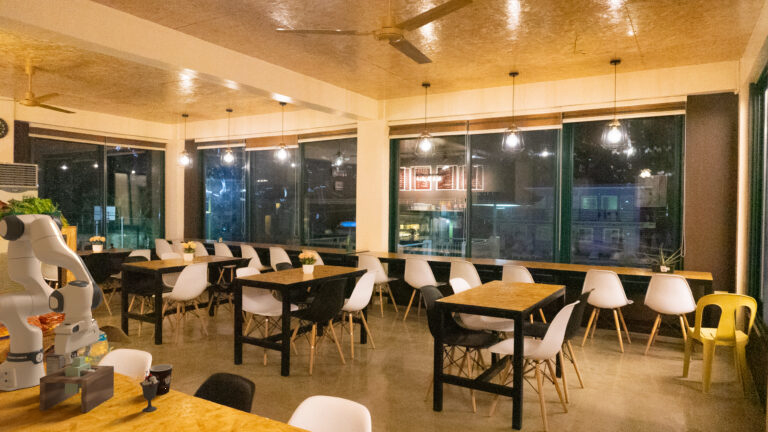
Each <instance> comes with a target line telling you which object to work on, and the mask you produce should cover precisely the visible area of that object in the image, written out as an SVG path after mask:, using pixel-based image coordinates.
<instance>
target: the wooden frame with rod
mask: <svg viewBox="0 0 768 432" xmlns="http://www.w3.org/2000/svg"><path fill="white" fill-rule="evenodd" d="M69 366H71V365H68V366H66V367H69ZM66 367H64V368H62V369H59V370H57V371H55V372H53V373H50V374H48V375H46V374H45V375H46V376H44V377H41V378H40V384H39V411H40V412H45V411H47V410H49V409H51V408H53V407H54V406H57V405H59V404H61V403H62V402H64V401H66V400H68V399H70V398H72V397H73V396H76V394H72V393H65V383H71V384H81V388H80V390H81V391H80V392H81V394H80V395H81V396H80V399H81V400H80V407H81V409H80V412H81V413H83V414H84V413H86V414H87V413H88V412H90V411H92V410H93V409H95V408H97V407H98V406H100V405H101V404H104V403H105V402H107V401H108V400H110V399H112V398H113V397H114V396H115V395H114V394H115V384H114V383H115V382H114V381H115V366H114V365H96V364H95V365H93V364H91V370H88V369H85V370H82V371H80V375H84V376H82V377H73V376H65V375H66ZM81 413H80V414H81Z"/></svg>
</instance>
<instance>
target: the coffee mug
mask: <svg viewBox="0 0 768 432" xmlns="http://www.w3.org/2000/svg"><path fill="white" fill-rule="evenodd" d="M148 370H149V371H148V373H149V374H152V375H154V376H155V375H157V376H158V377H159V378H158V380H159V381H160V382H159V383H158V384H157V390H156V396H163V395H166V394H168V393H170V389H171V380H172V371H173V365H172V364H167V363H166V364H165V363H164V364H163V363H162V364H156V365H153V366H150V367H149V368H148ZM165 388H166V389H165Z"/></svg>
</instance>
